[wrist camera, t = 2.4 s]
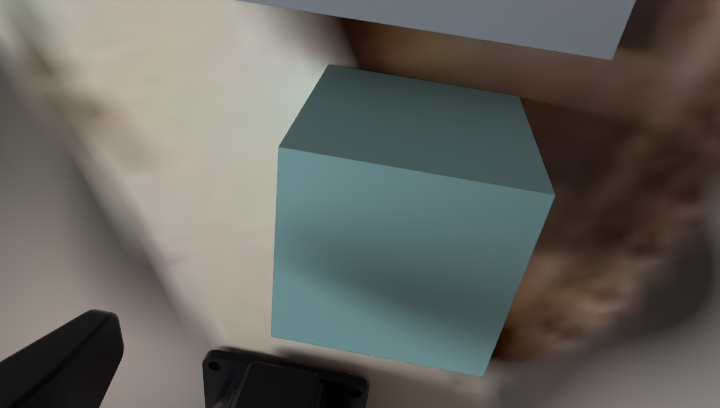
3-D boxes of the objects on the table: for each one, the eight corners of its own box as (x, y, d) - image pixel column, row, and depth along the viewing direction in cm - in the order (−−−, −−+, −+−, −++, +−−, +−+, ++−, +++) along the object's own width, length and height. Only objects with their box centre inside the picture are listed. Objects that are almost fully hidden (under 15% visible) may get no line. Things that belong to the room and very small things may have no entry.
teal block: (471, 246, 16) (482, 376, 12) (314, 218, 16) (270, 336, 12) (518, 95, 13) (555, 195, 9) (328, 63, 13) (278, 146, 9)
